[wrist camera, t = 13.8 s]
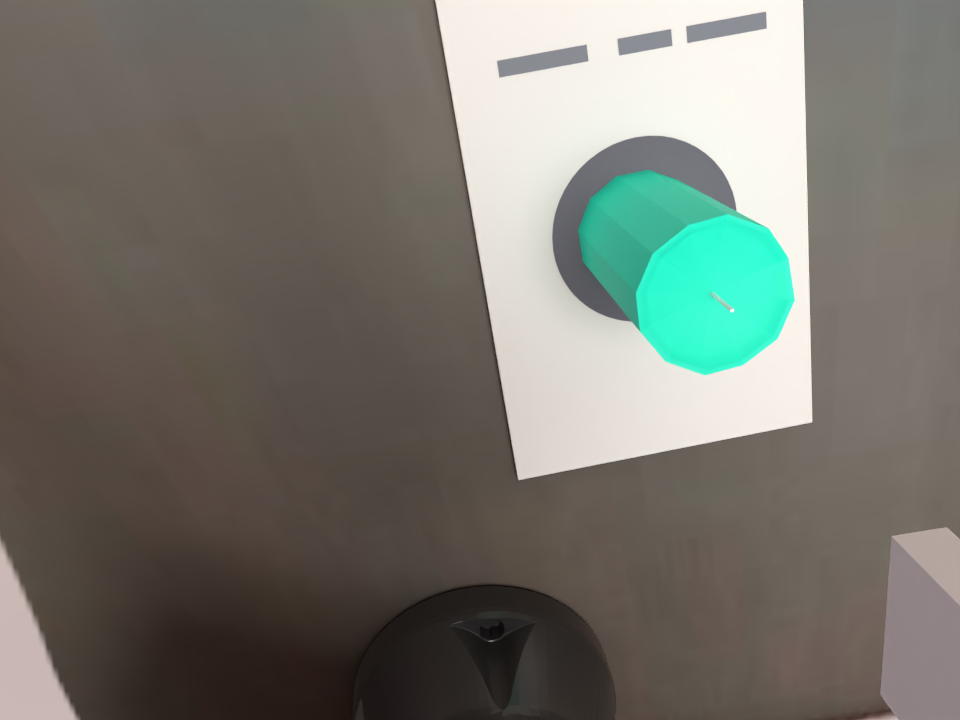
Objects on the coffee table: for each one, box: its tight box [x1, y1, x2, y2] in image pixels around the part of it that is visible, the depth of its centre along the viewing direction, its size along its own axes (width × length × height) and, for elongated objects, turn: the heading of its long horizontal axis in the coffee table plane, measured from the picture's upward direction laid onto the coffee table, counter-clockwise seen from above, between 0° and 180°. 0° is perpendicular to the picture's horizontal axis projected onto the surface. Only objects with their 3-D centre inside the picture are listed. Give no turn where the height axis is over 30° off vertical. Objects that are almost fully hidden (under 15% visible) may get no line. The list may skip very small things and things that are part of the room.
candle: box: [578, 170, 795, 375], centre depth 35 cm, size 6×6×12 cm
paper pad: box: [435, 0, 812, 480], centre depth 41 cm, size 24×16×1 cm, turn 10°
